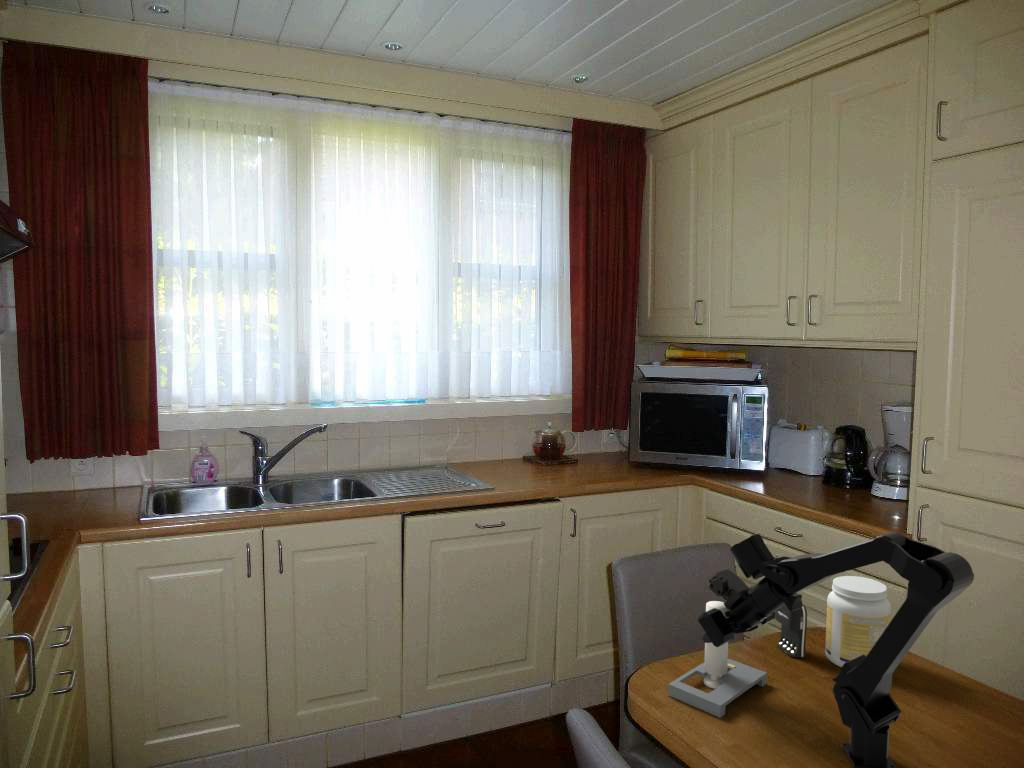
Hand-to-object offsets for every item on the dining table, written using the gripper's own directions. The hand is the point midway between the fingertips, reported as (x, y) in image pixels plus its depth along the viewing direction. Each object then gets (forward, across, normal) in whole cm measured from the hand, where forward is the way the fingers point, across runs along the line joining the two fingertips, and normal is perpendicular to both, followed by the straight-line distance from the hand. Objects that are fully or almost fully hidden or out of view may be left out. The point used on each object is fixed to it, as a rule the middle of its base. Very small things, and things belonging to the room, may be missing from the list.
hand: (710, 637), depth 146 cm
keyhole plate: (+4, +1, +9) cm, 10 cm away
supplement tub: (-4, -32, +17) cm, 36 cm away
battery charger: (+4, -25, +9) cm, 27 cm away
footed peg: (+6, 0, +7) cm, 9 cm away
